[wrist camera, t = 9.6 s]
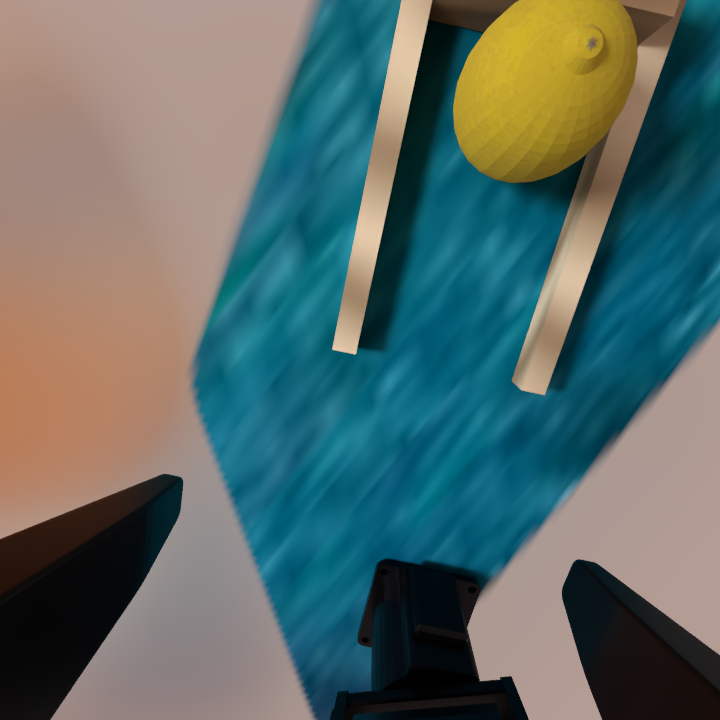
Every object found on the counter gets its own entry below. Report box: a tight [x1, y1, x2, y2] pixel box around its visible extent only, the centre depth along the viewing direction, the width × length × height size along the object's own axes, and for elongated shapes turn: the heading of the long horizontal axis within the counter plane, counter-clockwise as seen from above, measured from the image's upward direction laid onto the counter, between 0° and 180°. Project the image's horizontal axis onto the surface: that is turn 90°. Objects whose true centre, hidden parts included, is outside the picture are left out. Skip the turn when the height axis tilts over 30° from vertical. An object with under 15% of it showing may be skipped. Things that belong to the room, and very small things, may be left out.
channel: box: [332, 0, 686, 395], centre depth 17 cm, size 17×11×4 cm, turn 168°
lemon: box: [453, 0, 638, 183], centre depth 14 cm, size 6×6×8 cm
